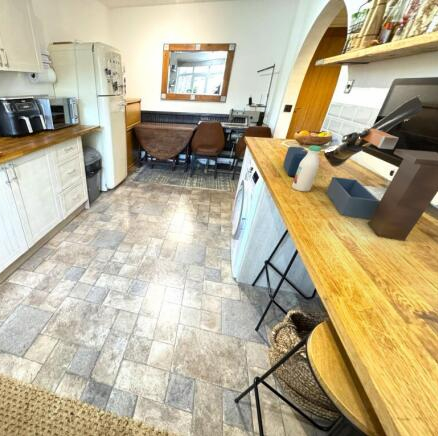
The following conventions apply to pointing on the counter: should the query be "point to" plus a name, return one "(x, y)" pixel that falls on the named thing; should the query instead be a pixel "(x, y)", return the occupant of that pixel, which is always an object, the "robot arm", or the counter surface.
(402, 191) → the shelf stand
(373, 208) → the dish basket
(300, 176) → the milk bottle
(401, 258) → the counter surface
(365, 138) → the orange brown bar
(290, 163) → the radio
